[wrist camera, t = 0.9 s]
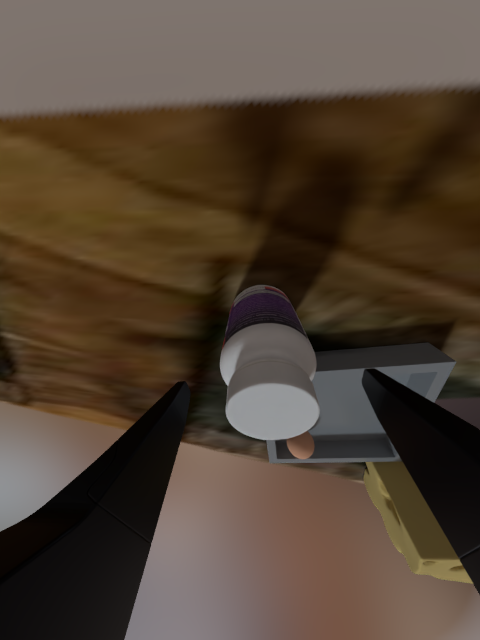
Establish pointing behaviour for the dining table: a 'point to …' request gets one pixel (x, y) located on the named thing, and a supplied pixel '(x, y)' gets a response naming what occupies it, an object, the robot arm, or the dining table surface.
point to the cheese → (412, 522)
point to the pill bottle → (268, 367)
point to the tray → (363, 401)
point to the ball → (301, 445)
